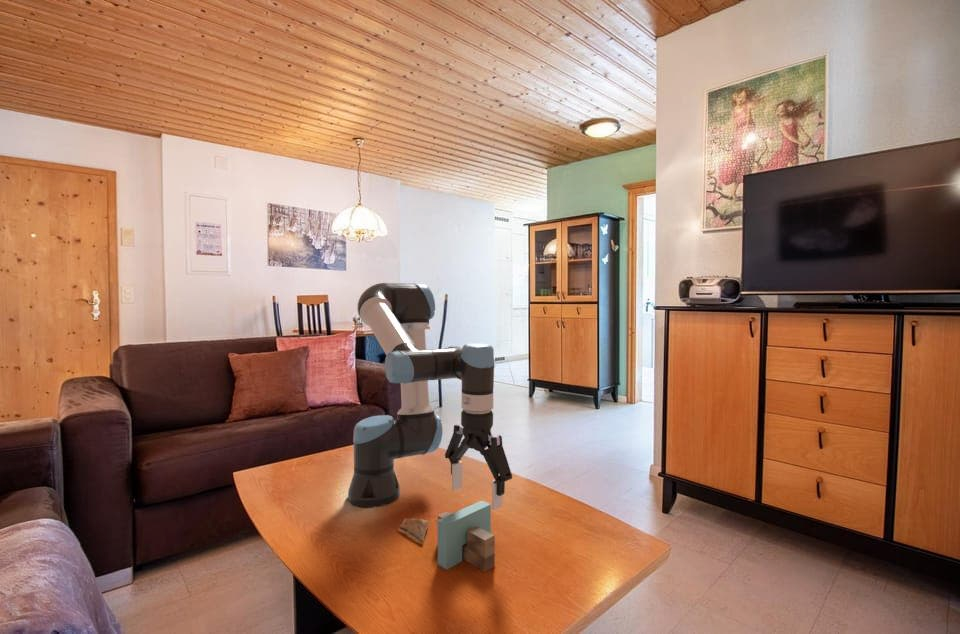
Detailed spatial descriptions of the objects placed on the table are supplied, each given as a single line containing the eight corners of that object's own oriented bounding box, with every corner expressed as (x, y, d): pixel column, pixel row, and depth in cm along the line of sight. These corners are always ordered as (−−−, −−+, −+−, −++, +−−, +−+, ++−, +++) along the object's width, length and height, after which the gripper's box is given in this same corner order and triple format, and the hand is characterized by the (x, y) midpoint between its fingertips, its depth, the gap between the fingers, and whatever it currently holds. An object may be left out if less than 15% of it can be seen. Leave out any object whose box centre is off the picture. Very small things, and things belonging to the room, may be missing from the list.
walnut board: (437, 543, 109) (437, 515, 109) (447, 539, 111) (447, 511, 111) (485, 571, 98) (485, 540, 97) (494, 566, 100) (494, 535, 99)
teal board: (446, 569, 98) (446, 524, 98) (437, 564, 100) (437, 520, 100) (490, 545, 108) (490, 504, 108) (481, 540, 110) (481, 500, 110)
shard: (422, 547, 108) (422, 540, 108) (391, 547, 108) (391, 539, 108) (429, 525, 119) (429, 518, 119) (401, 524, 119) (401, 518, 119)
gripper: (431, 402, 112) (430, 485, 113) (506, 424, 94) (504, 522, 96) (453, 397, 117) (453, 477, 119) (528, 417, 100) (527, 511, 101)
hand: (476, 498), depth 107 cm, fingers open, 13 cm apart
